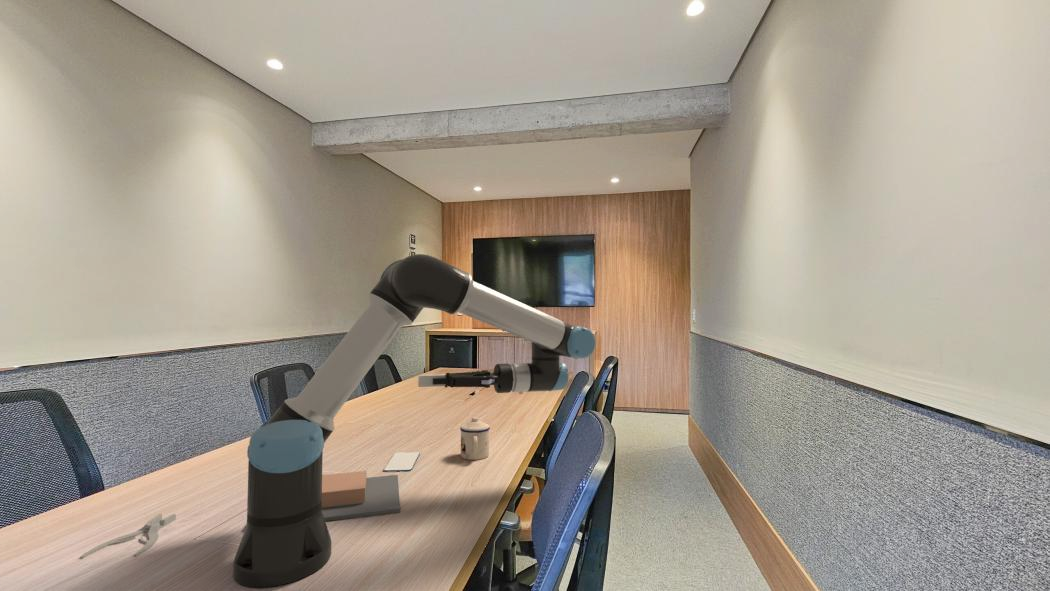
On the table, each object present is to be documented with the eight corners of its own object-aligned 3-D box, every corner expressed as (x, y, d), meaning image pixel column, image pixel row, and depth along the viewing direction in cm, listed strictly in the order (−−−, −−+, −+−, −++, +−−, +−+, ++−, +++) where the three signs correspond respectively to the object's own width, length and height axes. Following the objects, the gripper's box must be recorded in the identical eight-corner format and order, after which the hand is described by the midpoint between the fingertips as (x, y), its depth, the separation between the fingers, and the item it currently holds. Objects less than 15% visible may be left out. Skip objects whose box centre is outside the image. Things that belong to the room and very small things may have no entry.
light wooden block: (364, 488, 102) (275, 497, 97) (364, 503, 102) (275, 514, 97) (366, 470, 114) (287, 478, 108) (366, 484, 113) (286, 492, 108)
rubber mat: (400, 512, 99) (400, 508, 99) (245, 531, 90) (245, 527, 90) (397, 477, 120) (397, 474, 120) (271, 490, 111) (271, 487, 111)
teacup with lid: (460, 452, 143) (460, 414, 143) (488, 450, 144) (489, 414, 145) (459, 464, 131) (459, 423, 132) (490, 463, 132) (491, 422, 133)
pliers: (79, 551, 80) (143, 514, 95) (78, 560, 80) (142, 522, 95) (138, 549, 81) (192, 513, 96) (137, 558, 81) (192, 520, 96)
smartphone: (411, 473, 125) (420, 454, 141) (411, 469, 125) (420, 451, 141) (382, 473, 125) (394, 455, 141) (382, 470, 125) (394, 452, 141)
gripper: (517, 396, 112) (420, 401, 105) (504, 388, 125) (416, 392, 117) (517, 366, 113) (421, 368, 105) (504, 361, 125) (417, 363, 118)
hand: (418, 381), depth 111 cm, fingers closed
